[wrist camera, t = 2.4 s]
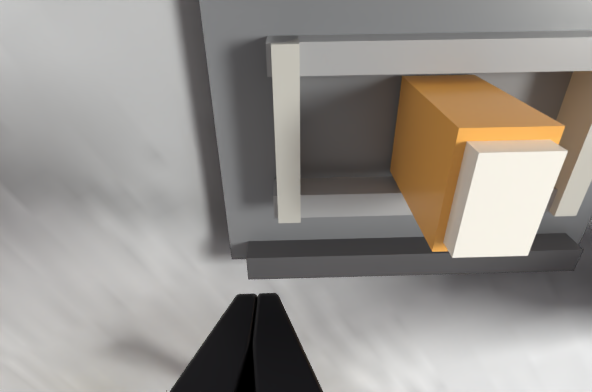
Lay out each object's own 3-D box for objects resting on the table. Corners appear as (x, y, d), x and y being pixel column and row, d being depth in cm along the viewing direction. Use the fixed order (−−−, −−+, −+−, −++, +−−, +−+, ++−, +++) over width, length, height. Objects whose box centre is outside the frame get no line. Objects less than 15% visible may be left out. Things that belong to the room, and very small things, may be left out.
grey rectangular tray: (699, -82, 14) (796, -93, 12) (562, 237, 22) (601, 275, 19) (195, -76, 14) (174, -86, 11) (234, 245, 22) (227, 285, 19)
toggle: (474, 74, 16) (584, 136, 10) (452, 169, 18) (533, 265, 12) (402, 76, 16) (471, 138, 10) (390, 170, 18) (440, 267, 12)
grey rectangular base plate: (706, -92, 13) (748, -98, 12) (557, 253, 21) (573, 270, 20) (217, -87, 13) (210, -92, 12) (250, 261, 21) (248, 279, 20)
